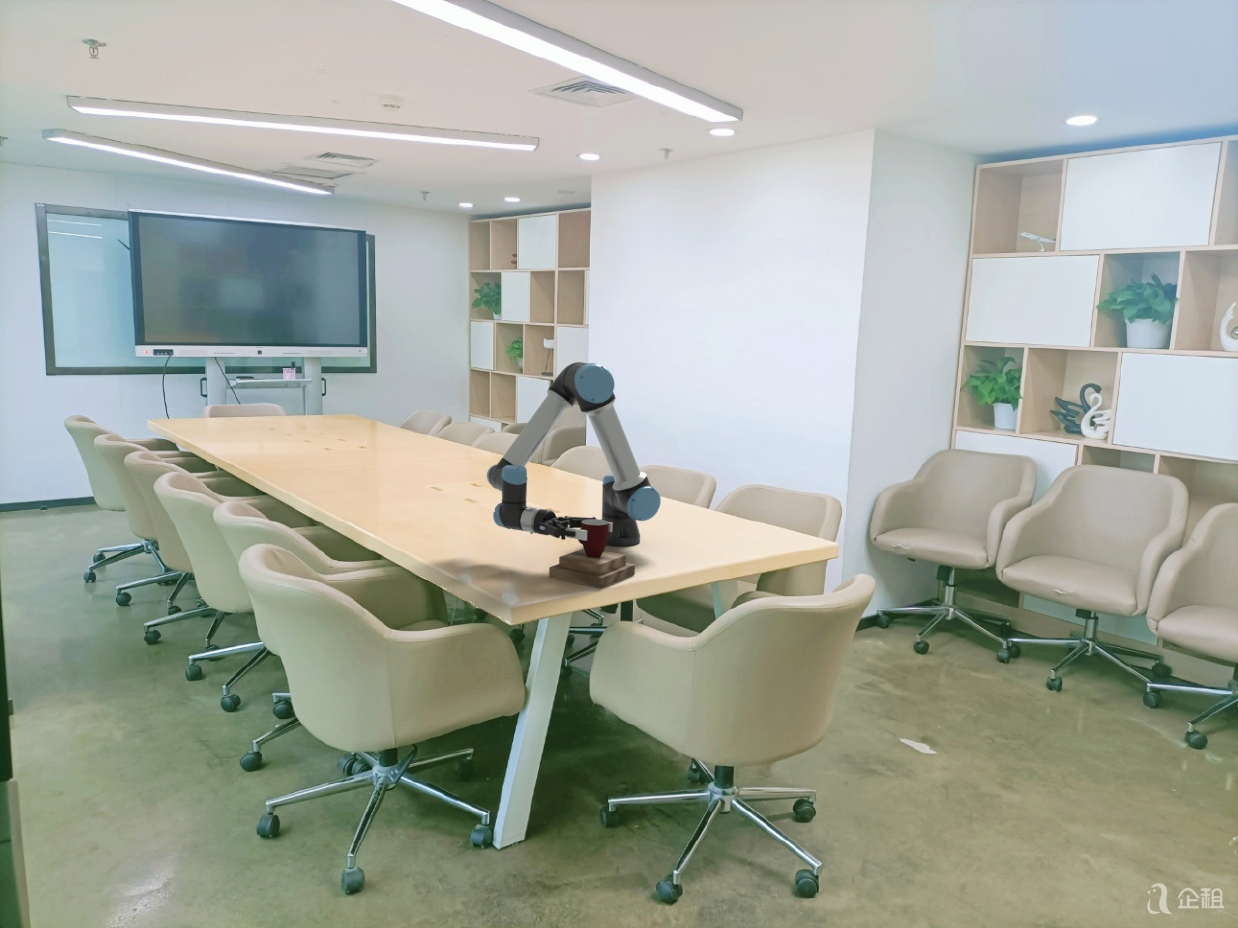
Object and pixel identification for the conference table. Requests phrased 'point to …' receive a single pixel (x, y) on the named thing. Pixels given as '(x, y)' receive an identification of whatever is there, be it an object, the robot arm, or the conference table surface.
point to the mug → (595, 536)
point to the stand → (592, 568)
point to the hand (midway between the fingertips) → (599, 531)
